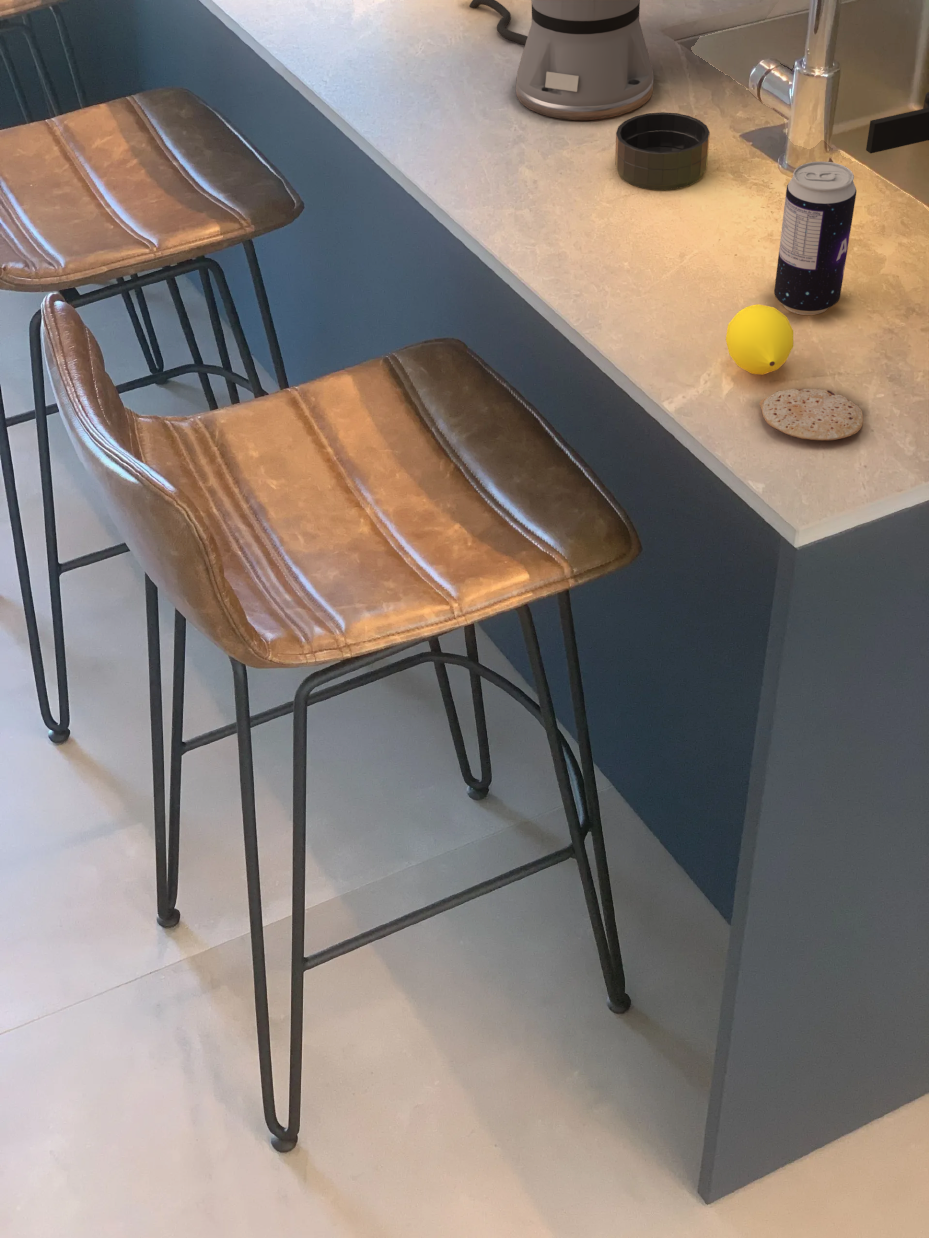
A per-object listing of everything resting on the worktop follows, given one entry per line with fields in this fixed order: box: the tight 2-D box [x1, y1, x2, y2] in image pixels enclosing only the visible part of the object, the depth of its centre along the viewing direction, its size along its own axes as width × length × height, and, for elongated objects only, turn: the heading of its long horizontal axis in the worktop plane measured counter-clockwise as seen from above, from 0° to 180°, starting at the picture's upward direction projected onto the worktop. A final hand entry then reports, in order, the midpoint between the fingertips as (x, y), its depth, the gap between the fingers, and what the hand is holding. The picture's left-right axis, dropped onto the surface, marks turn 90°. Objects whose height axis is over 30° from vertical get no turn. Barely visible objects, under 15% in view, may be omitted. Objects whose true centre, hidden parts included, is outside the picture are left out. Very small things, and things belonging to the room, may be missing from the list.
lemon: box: [725, 303, 794, 375], centre depth 115 cm, size 7×5×5 cm
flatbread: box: [759, 388, 864, 441], centre depth 111 cm, size 8×8×1 cm
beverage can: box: [773, 160, 857, 316], centre depth 119 cm, size 6×6×12 cm
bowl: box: [614, 111, 711, 191], centre depth 142 cm, size 9×9×4 cm
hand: (913, 169), depth 118 cm, fingers open, 13 cm apart
